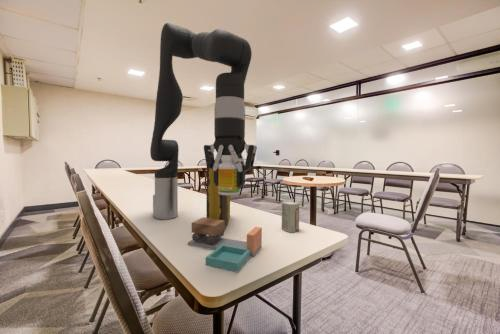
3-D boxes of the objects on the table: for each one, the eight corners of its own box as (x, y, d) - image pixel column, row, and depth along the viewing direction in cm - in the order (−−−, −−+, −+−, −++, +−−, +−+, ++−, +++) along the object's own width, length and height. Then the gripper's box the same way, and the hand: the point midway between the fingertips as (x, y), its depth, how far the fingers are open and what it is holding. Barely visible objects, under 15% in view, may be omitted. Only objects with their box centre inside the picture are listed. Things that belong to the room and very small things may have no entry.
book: (226, 234, 76) (227, 161, 75) (202, 233, 76) (202, 160, 75) (233, 216, 98) (233, 160, 97) (213, 216, 98) (214, 159, 97)
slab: (191, 240, 67) (191, 222, 67) (203, 233, 73) (203, 217, 72) (214, 244, 64) (214, 226, 64) (224, 237, 70) (225, 220, 70)
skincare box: (299, 231, 80) (300, 203, 80) (290, 233, 78) (290, 204, 78) (290, 227, 85) (290, 200, 84) (280, 228, 83) (281, 202, 82)
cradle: (205, 265, 55) (205, 257, 54) (222, 251, 63) (222, 244, 62) (237, 272, 52) (237, 263, 51) (250, 256, 60) (250, 249, 59)
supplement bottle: (236, 196, 53) (237, 155, 52) (215, 195, 54) (215, 155, 53) (241, 192, 58) (242, 155, 58) (221, 191, 59) (222, 155, 59)
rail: (187, 244, 67) (187, 225, 67) (200, 236, 73) (200, 219, 73) (253, 256, 59) (253, 235, 59) (261, 246, 66) (261, 227, 66)
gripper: (196, 117, 54) (196, 186, 55) (251, 114, 49) (250, 190, 50) (212, 121, 61) (212, 182, 62) (262, 119, 56) (260, 186, 57)
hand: (229, 185), depth 56 cm, fingers closed on supplement bottle, 5 cm apart
